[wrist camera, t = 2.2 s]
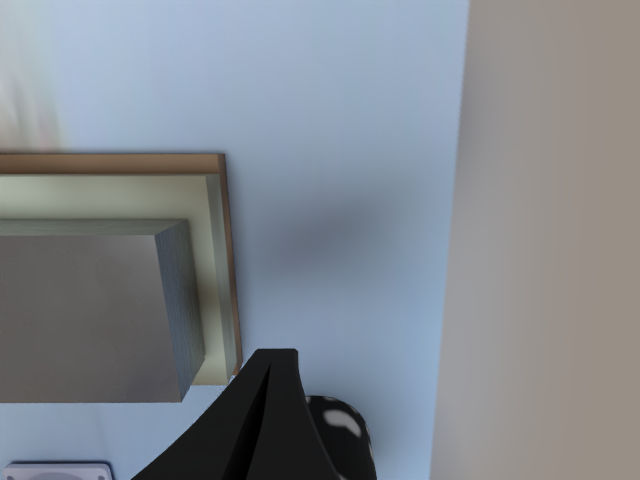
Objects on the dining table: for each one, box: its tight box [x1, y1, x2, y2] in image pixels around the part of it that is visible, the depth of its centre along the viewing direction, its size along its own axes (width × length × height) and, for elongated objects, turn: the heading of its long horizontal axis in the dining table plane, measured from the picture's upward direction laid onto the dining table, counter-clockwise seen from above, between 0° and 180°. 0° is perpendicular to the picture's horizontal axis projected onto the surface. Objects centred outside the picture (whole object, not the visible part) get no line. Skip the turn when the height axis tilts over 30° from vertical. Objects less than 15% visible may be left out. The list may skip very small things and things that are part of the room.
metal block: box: [0, 219, 205, 403], centre depth 14 cm, size 8×12×3 cm, turn 90°
